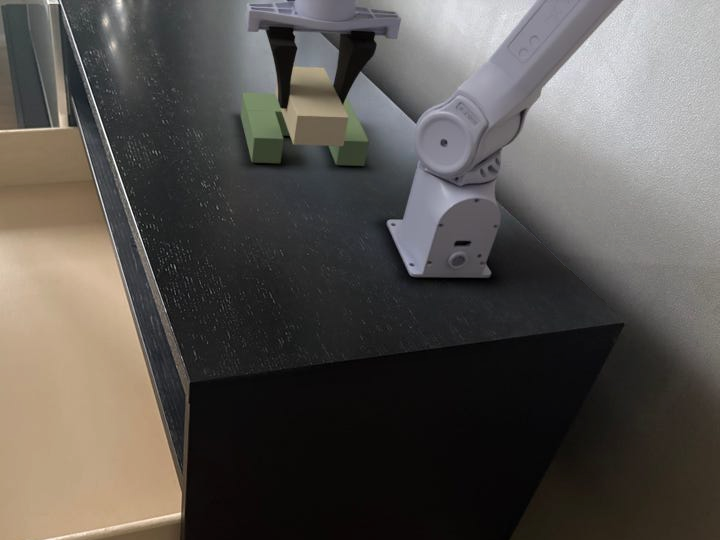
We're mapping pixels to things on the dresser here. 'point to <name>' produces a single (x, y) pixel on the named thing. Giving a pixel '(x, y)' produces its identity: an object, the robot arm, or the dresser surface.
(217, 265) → the dresser surface
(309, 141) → the cream block
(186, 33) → the dresser surface
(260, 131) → the green u-shaped block
